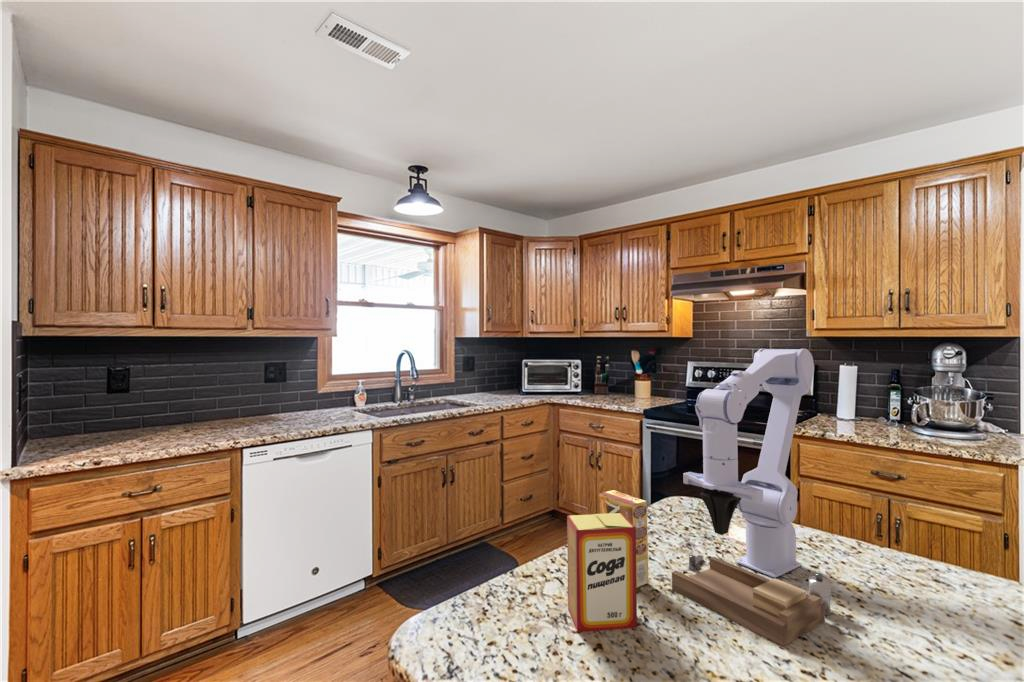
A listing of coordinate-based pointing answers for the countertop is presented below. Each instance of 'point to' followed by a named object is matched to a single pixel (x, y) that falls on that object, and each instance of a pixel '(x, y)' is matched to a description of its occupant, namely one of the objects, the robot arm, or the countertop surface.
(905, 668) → the countertop surface
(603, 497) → the candy box
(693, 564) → the crank handle
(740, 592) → the bay
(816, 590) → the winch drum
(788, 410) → the robot arm
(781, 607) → the tan wooden block
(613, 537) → the baking soda box
